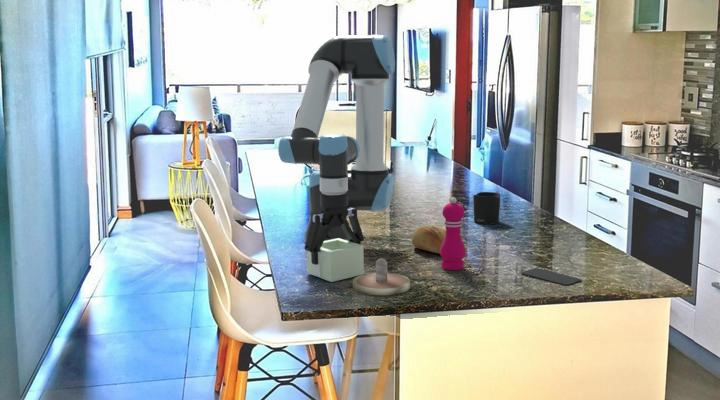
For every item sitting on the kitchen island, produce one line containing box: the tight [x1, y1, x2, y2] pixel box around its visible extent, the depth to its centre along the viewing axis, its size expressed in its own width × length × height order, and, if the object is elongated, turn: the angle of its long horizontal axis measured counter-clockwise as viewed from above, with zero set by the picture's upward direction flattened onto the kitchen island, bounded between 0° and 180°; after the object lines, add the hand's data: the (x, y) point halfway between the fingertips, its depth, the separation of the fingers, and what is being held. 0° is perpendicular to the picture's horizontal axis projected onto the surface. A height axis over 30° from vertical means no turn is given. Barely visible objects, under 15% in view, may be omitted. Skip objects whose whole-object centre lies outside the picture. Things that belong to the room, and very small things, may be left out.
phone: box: [521, 267, 582, 287], centre depth 211 cm, size 7×1×15 cm
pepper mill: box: [439, 197, 466, 271], centre depth 220 cm, size 7×7×20 cm
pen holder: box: [472, 191, 501, 225], centre depth 278 cm, size 9×9×10 cm
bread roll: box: [411, 224, 446, 255], centre depth 239 cm, size 10×15×8 cm, turn 37°
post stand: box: [352, 258, 411, 296], centre depth 204 cm, size 15×15×8 cm
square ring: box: [306, 238, 365, 283], centre depth 214 cm, size 11×11×8 cm
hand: (335, 271), depth 215 cm, fingers closed on square ring, 11 cm apart
